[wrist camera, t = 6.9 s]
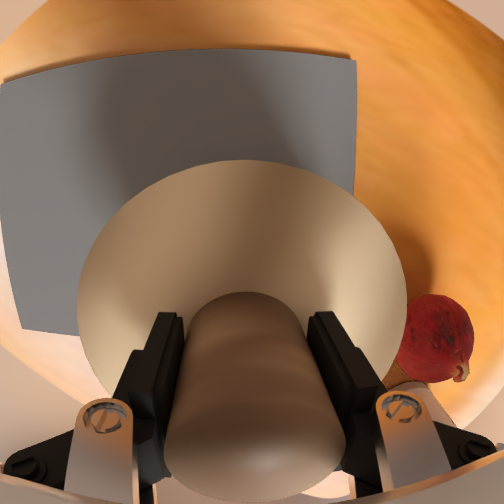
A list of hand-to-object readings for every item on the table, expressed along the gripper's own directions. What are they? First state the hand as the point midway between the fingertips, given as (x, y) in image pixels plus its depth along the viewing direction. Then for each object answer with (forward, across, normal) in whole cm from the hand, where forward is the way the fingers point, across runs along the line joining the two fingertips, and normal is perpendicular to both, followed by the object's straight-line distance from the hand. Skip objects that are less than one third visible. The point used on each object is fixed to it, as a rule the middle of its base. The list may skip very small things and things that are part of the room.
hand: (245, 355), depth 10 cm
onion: (+11, -13, +4) cm, 17 cm away
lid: (+2, 0, 0) cm, 2 cm away
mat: (+11, +5, -3) cm, 12 cm away
